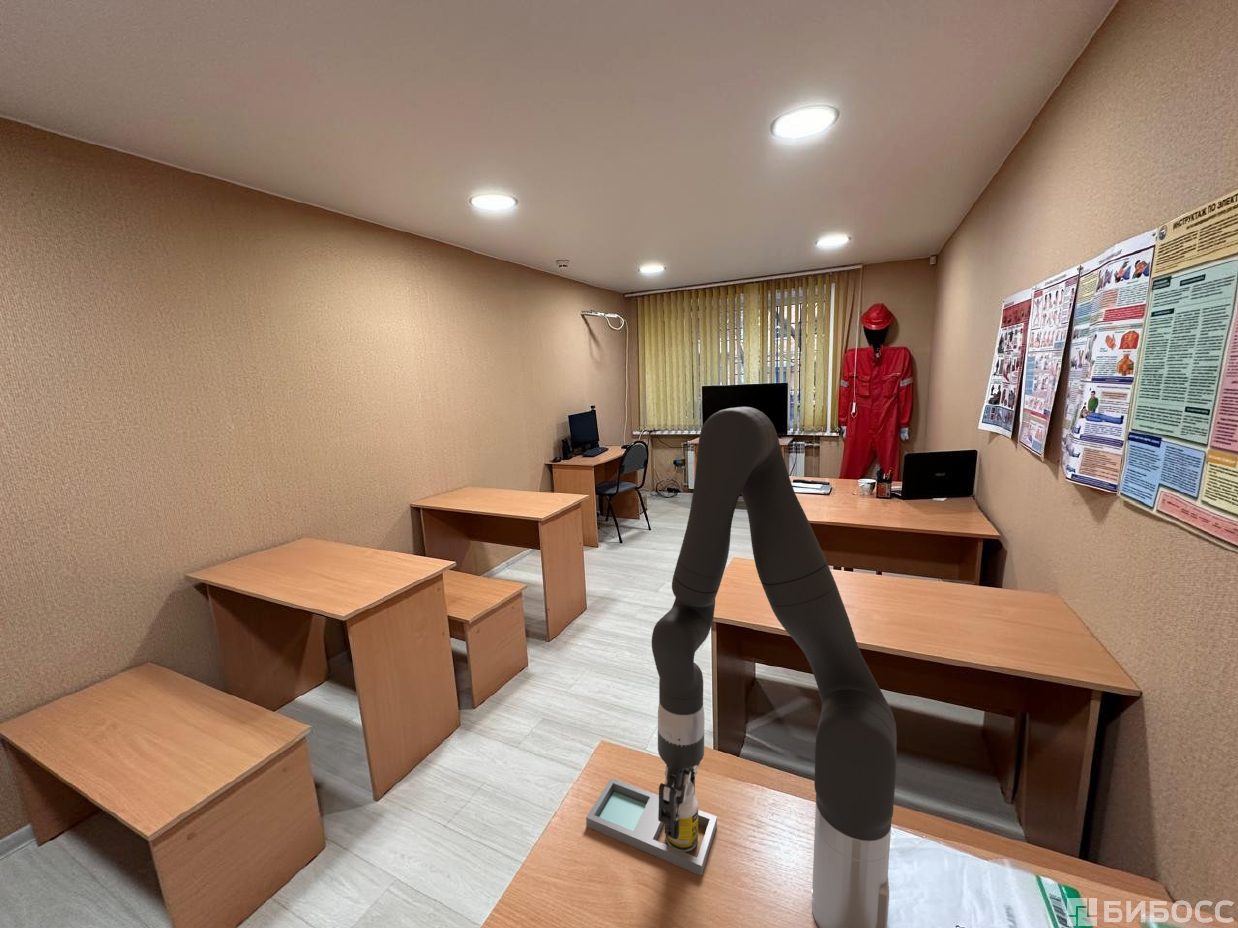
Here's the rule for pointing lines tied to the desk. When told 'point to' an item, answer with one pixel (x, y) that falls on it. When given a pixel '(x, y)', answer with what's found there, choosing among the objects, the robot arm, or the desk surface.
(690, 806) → the supplement bottle
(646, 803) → the frame
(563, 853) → the desk surface
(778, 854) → the desk surface
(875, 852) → the robot arm
